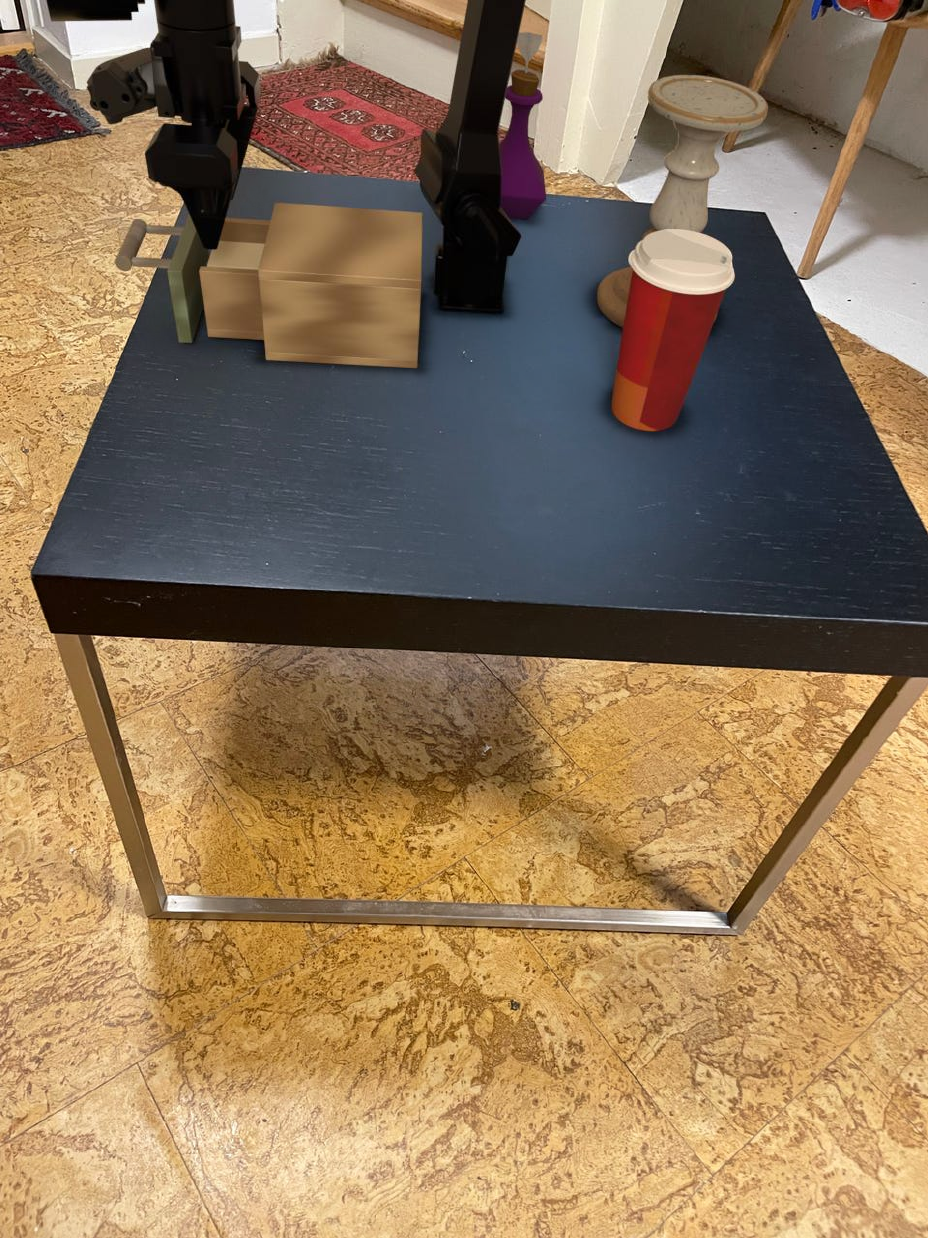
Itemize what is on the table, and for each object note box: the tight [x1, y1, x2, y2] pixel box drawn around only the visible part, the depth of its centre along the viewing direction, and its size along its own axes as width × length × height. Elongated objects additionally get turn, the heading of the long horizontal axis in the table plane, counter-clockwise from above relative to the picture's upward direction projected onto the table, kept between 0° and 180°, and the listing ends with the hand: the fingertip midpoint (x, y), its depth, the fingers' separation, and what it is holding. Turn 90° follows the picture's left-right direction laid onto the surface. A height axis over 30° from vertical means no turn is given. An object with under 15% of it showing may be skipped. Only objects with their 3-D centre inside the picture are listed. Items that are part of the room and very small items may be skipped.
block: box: [207, 241, 265, 270], centre depth 86 cm, size 5×5×5 cm
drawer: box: [114, 214, 271, 344], centre depth 86 cm, size 17×11×7 cm, turn 91°
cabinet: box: [258, 202, 423, 369], centre depth 87 cm, size 14×13×9 cm
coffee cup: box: [611, 229, 736, 432], centre depth 79 cm, size 8×8×15 cm
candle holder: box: [596, 74, 769, 329], centre depth 90 cm, size 12×12×20 cm
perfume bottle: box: [499, 31, 547, 220], centre depth 103 cm, size 8×8×18 cm
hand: (219, 222), depth 82 cm, fingers open, 9 cm apart
